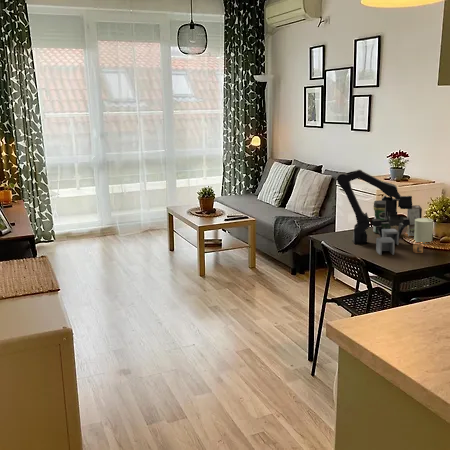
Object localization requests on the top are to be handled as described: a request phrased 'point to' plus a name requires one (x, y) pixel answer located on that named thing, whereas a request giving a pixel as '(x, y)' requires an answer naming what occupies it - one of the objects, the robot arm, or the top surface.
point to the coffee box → (413, 218)
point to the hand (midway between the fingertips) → (390, 237)
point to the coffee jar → (380, 214)
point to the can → (423, 230)
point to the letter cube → (418, 248)
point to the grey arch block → (391, 234)
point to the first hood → (385, 245)
